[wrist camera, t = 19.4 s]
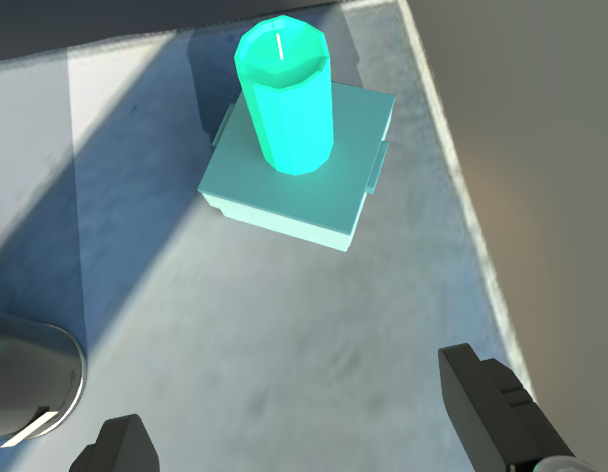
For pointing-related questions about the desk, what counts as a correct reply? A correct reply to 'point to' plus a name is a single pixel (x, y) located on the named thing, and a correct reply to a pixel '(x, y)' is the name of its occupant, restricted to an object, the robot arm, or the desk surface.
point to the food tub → (308, 186)
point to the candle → (288, 92)
